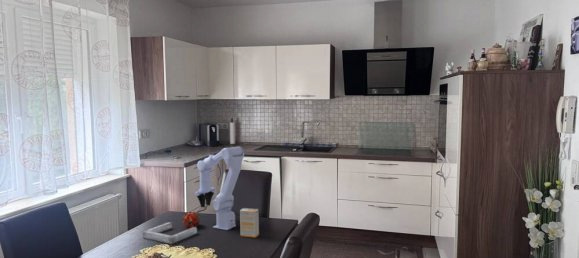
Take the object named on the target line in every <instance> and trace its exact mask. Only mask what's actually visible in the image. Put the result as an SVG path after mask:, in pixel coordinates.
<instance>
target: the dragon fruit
mask: <svg viewBox="0 0 579 258" xmlns="http://www.w3.org/2000/svg"><path fill="white" fill-rule="evenodd" d="M199 216H200V214H199V213H197V212H195V211H188V212H187V213H185V214H184V215H183V217H182V223H183V225H184V227H186V229H190V228H192V227H197V226H198V225H199V224H200V217H199Z"/></svg>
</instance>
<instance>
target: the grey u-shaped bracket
mask: <svg viewBox="0 0 579 258" xmlns="http://www.w3.org/2000/svg"><path fill="white" fill-rule="evenodd" d="M171 229H173V223H172V222H170V221H169V222H164V223H162V224H160V225H157V226H155V227H151V228H148V229H146V230H143V231H142V239H146V240H152V241H155V242H160V243H166V244H171V245H173V244H175V243H178V242H180V241H182V240H185V239H187V238H189V237H191V236H194V235H196V234H197V233H198V227H197V226H196V227H191V228H189V229H188V228H186V229H185V230H183V231H180V232H178V233H175V234H173V235H169V234H165V233H163V232H166V231H168V230H171Z"/></svg>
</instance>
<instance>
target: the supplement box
mask: <svg viewBox="0 0 579 258" xmlns="http://www.w3.org/2000/svg"><path fill="white" fill-rule="evenodd" d="M259 217H260V216H259V208H249V207H248V208H247V207H243V208H241V209H240V210H239V222H240V223H239V226H240V228H239V229H240V230H239V231H240V233H239V234H240V237H246V238H252V239H253V238H255V239H256V238H257V237H258V236H259V235H260V228H259V227H260V226H259V225H260V224H259V222H260V220H259Z"/></svg>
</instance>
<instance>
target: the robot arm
mask: <svg viewBox="0 0 579 258" xmlns="http://www.w3.org/2000/svg"><path fill="white" fill-rule="evenodd" d="M244 157H245V153H244V149H243V148H242V146H240V145H239V146H238V145H237V146H235V147H234V146H233V147H224V148H222V149H221V150H220V151H219V152H218V153H216V154H209V155H208V157H205V158H204V159H203V160H199V161H198V162H197V165H196V166H197V170H198V171H199V188H198V190H197V191H195V192H194V196H195V197H196V198H197V199H198V201H199V204H200V208H205V207H206V206H211V203H212V208H213V209H214V211H215V212H216V213H215V214H216V220H215V221H216V225H214V226H213V225H212V228H214V229H219V230H224V231H228V230H231V229H232V228H235V227H237V225H236V214H235V212H234V211H232V208H233V207H234V199H235V197H234V195H233V193H234V189H235V186H236V183H237V181H238V178H239V175H240V172H241V171H242V162H243V160H244ZM221 160H224V162H225V164H226V166H227V167H229V169H228V172H227V173H226V178H225V179H224V183H223V186H222V189H221V192H220V193H219V194H217V195H216V196H215V198H214V199H213V201H212V198H213V196H214V194H215V193H214V192H215V191H216V187H214V186H212V187H211V173H212V169H213V167H214V166H216V165H218V164H219V161H221Z"/></svg>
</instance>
